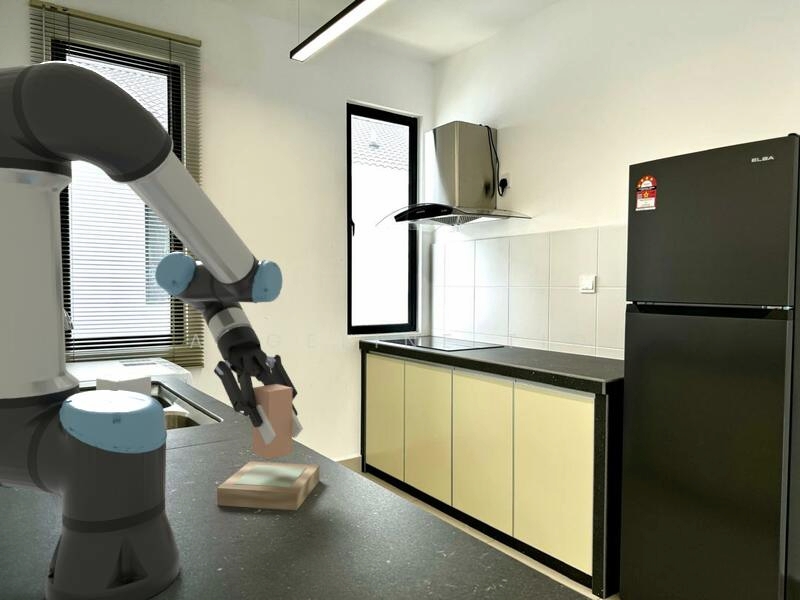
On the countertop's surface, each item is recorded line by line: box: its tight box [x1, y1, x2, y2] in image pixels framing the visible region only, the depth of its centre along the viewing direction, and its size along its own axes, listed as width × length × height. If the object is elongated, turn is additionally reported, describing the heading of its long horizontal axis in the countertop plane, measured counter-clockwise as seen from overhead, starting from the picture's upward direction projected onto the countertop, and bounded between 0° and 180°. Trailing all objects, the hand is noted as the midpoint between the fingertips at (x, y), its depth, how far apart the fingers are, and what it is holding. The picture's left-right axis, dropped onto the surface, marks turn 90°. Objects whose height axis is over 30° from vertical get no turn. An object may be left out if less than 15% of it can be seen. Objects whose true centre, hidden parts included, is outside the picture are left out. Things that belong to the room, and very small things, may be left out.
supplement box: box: [95, 373, 152, 397], centre depth 132 cm, size 9×9×15 cm
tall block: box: [252, 384, 293, 460], centre depth 99 cm, size 5×5×12 cm
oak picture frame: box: [216, 460, 321, 511], centre depth 99 cm, size 14×14×3 cm
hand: (284, 436), depth 97 cm, fingers closed on tall block, 5 cm apart
